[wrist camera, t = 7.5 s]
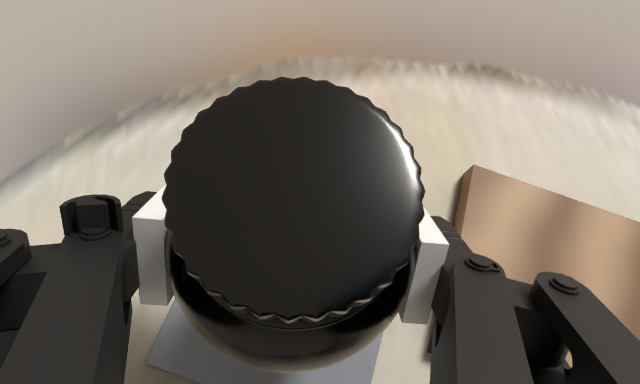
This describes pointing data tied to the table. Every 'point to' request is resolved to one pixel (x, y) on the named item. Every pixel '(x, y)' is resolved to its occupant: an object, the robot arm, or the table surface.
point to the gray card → (234, 377)
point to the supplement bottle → (292, 223)
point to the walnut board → (552, 239)
